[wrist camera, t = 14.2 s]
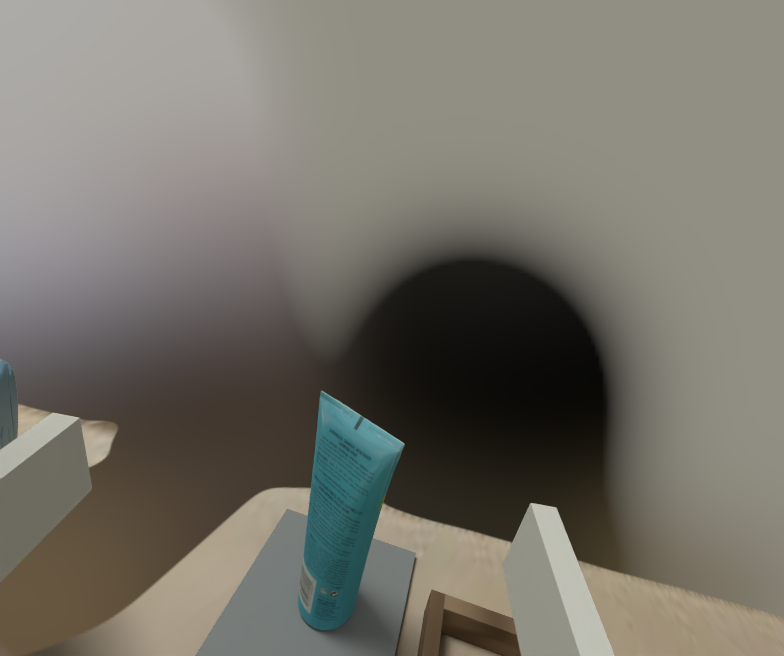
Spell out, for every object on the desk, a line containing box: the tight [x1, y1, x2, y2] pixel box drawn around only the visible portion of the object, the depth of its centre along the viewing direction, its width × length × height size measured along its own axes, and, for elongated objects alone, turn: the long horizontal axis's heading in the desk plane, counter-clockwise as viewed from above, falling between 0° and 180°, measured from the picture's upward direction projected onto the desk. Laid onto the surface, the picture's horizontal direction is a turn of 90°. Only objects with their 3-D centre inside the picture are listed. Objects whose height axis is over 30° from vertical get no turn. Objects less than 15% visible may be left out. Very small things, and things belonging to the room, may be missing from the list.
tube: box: [298, 391, 404, 630], centre depth 30 cm, size 7×5×19 cm, turn 58°
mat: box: [196, 509, 416, 656], centre depth 34 cm, size 14×14×1 cm
